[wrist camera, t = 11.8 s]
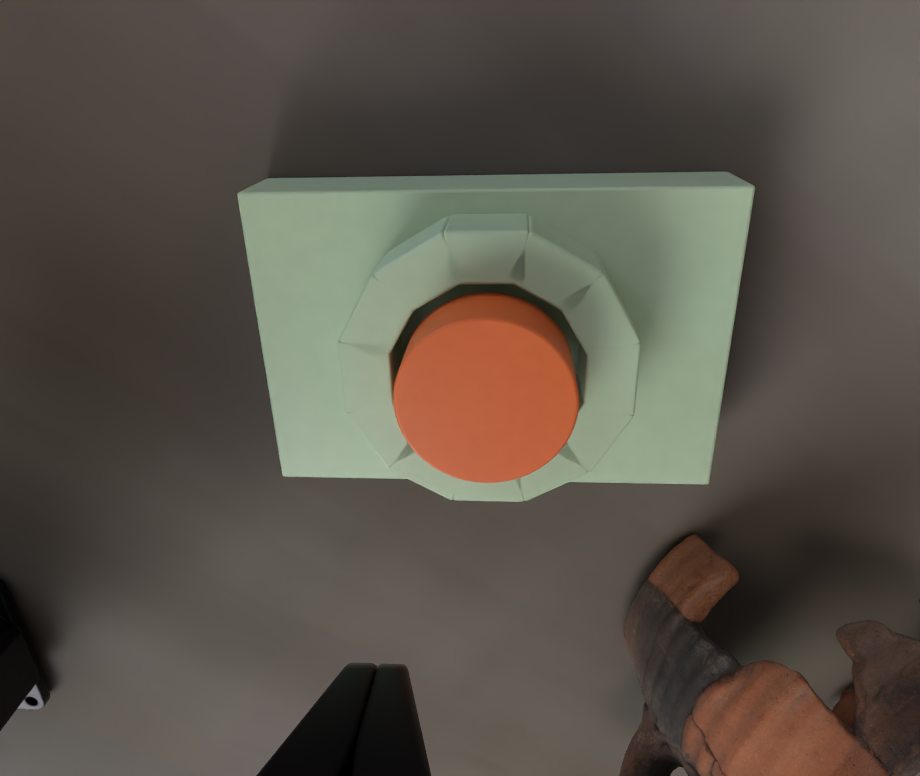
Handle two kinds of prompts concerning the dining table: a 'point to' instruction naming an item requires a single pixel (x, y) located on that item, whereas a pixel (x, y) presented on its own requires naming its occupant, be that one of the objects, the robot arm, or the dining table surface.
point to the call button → (487, 388)
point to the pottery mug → (759, 691)
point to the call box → (508, 272)
